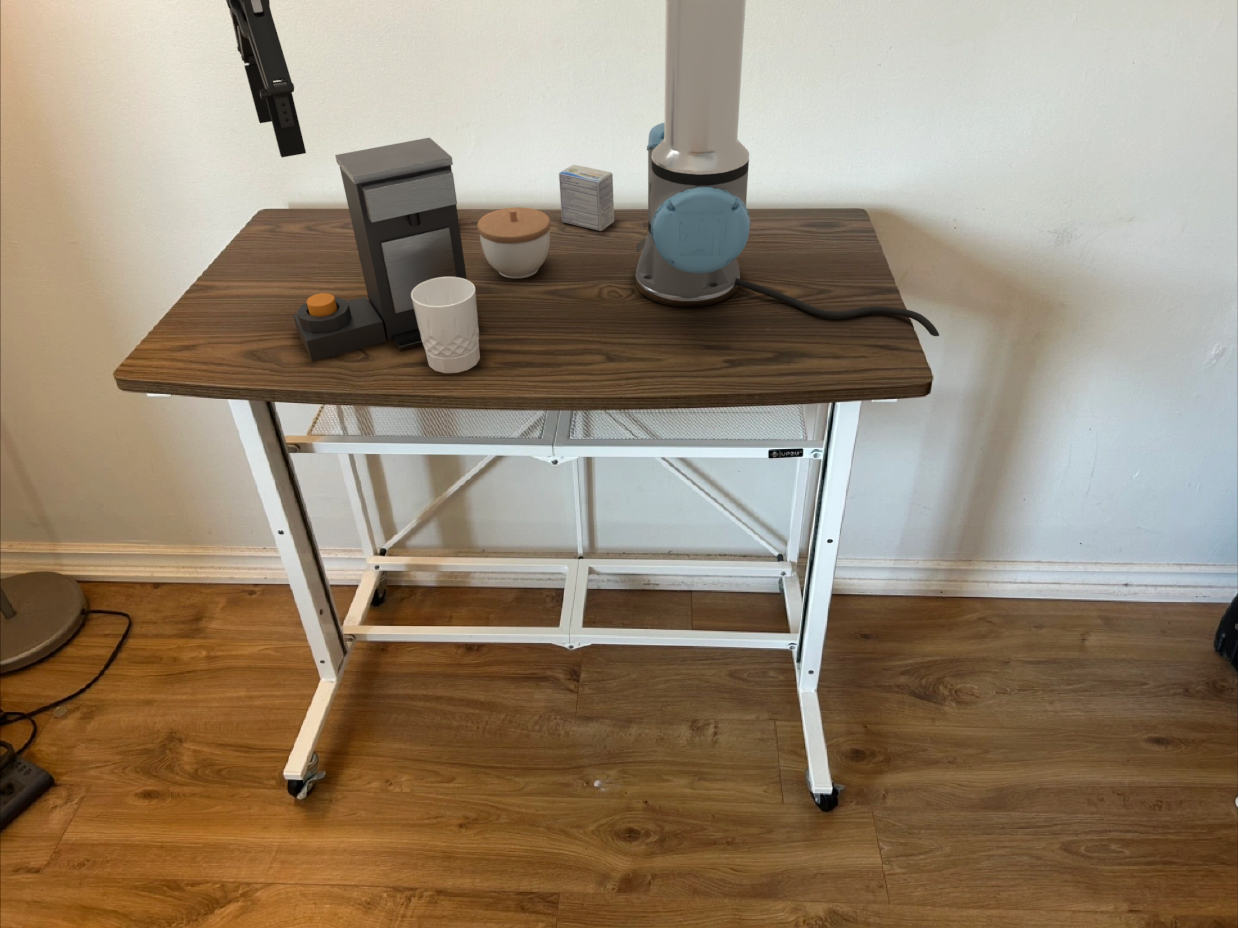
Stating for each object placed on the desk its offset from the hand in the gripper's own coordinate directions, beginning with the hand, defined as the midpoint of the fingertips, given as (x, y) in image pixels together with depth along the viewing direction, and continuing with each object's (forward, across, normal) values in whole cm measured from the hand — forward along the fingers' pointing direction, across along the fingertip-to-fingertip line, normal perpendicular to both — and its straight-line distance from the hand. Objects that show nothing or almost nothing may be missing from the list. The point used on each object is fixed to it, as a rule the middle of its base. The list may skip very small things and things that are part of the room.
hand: (281, 137), depth 105 cm
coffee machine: (+27, +3, +12) cm, 30 cm away
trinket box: (+27, -6, +30) cm, 41 cm away
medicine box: (+27, -16, +47) cm, 56 cm away
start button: (+22, +1, 0) cm, 22 cm away
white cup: (+27, +14, +13) cm, 33 cm away
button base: (+27, +1, +1) cm, 27 cm away
